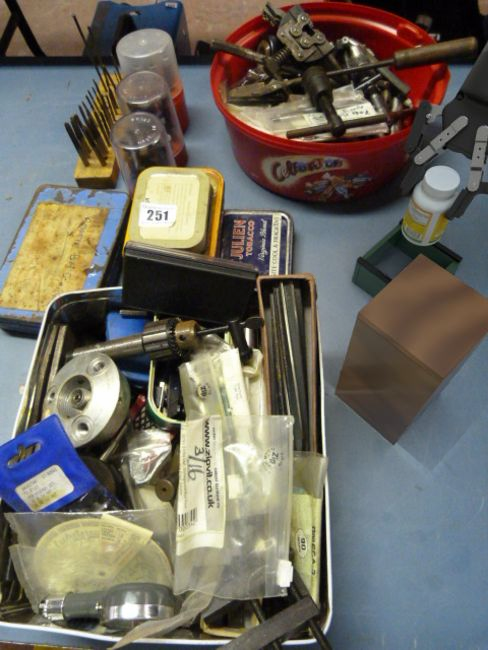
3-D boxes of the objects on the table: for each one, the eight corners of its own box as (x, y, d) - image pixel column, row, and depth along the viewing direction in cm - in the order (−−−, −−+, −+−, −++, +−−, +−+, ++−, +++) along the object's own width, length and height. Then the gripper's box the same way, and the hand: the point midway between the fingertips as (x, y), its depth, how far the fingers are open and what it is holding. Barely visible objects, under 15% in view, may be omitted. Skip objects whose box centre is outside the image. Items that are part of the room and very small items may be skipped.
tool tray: (451, 280, 77) (463, 257, 72) (407, 323, 73) (417, 303, 69) (394, 241, 81) (402, 217, 76) (351, 281, 77) (356, 259, 73)
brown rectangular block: (440, 394, 68) (506, 310, 49) (393, 446, 65) (444, 378, 46) (381, 347, 72) (420, 252, 53) (334, 394, 69) (358, 312, 50)
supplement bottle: (401, 246, 66) (419, 194, 58) (399, 215, 69) (416, 160, 60) (444, 248, 65) (468, 195, 57) (440, 216, 68) (463, 161, 60)
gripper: (449, 29, 54) (367, 177, 60) (582, 80, 49) (477, 236, 55) (459, 52, 60) (383, 183, 67) (578, 99, 55) (484, 237, 62)
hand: (426, 207), depth 61 cm, fingers closed on supplement bottle, 5 cm apart
